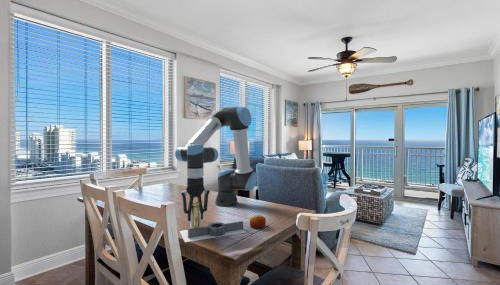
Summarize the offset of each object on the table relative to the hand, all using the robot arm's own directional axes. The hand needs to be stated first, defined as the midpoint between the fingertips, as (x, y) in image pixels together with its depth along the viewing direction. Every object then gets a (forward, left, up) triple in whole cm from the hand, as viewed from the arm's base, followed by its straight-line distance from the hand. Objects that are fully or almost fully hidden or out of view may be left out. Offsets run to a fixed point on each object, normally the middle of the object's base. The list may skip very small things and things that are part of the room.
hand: (195, 226), depth 120 cm
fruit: (+8, +29, -3) cm, 30 cm away
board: (+5, +7, -3) cm, 9 cm away
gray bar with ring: (+8, +8, -2) cm, 11 cm away
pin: (0, 0, -2) cm, 2 cm away
